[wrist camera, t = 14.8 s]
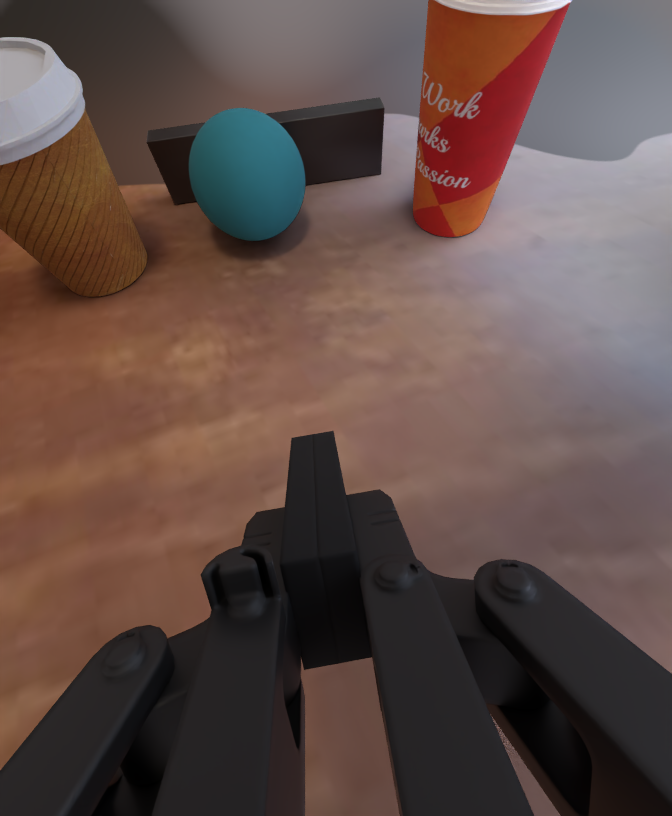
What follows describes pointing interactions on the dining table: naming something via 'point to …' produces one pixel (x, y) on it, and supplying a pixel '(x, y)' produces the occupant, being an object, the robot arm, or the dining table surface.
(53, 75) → the disposable coffee cup
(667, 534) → the dining table surface
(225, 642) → the robot arm
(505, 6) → the paper cup
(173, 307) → the dining table surface
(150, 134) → the block
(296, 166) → the ball
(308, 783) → the dining table surface
